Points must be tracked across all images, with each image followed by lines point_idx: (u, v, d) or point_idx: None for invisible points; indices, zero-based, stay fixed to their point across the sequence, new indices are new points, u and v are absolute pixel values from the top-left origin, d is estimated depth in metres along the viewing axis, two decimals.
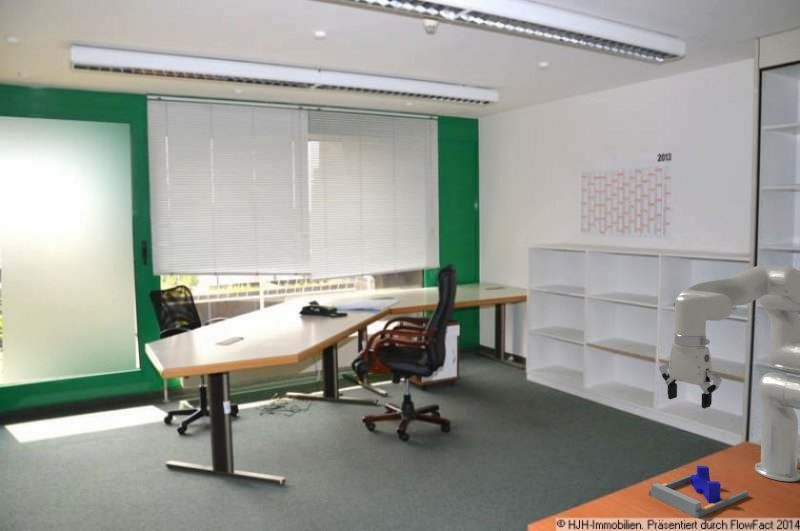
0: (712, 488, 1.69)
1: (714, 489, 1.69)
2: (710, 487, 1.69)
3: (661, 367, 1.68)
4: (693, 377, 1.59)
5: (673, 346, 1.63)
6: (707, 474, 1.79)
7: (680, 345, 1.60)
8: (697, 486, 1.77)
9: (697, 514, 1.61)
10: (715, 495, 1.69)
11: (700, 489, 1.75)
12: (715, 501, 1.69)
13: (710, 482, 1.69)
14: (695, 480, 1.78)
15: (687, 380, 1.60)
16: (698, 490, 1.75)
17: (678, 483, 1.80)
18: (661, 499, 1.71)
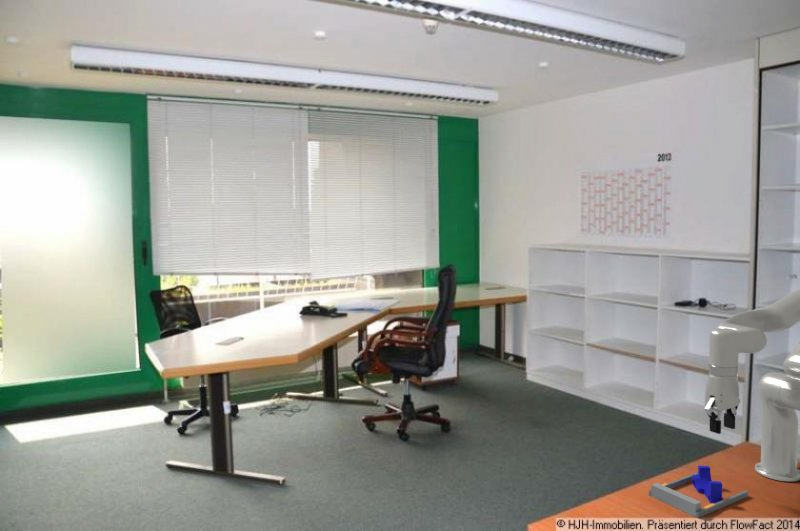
0: (714, 488, 1.69)
1: (715, 489, 1.69)
2: (712, 487, 1.69)
3: (709, 409, 1.73)
4: (735, 401, 1.76)
5: (723, 380, 1.73)
6: (708, 474, 1.79)
7: (734, 376, 1.73)
8: (698, 486, 1.76)
9: (697, 514, 1.61)
10: (717, 495, 1.69)
11: (702, 489, 1.75)
12: (717, 501, 1.69)
13: (712, 482, 1.69)
14: (696, 480, 1.78)
15: (731, 406, 1.75)
16: (700, 490, 1.75)
17: (678, 483, 1.80)
18: (661, 499, 1.71)
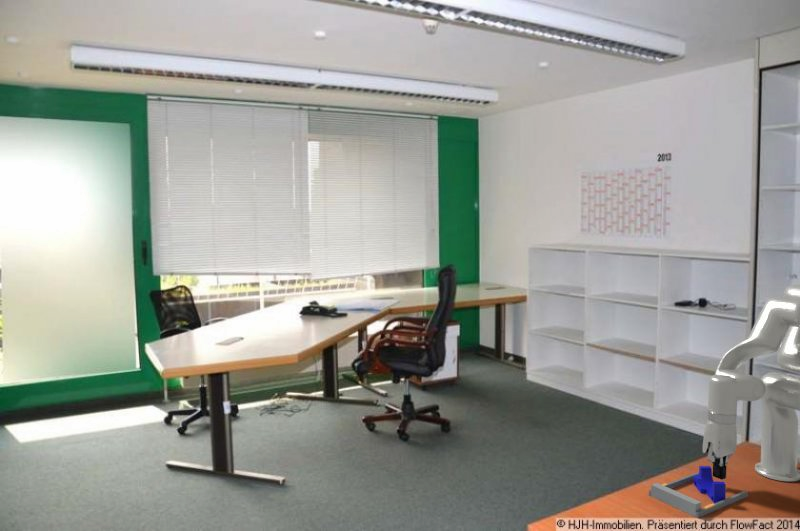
0: (717, 488, 1.69)
1: (719, 489, 1.69)
2: (715, 487, 1.69)
3: (712, 459, 1.75)
4: (732, 448, 1.77)
5: (721, 427, 1.74)
6: (710, 474, 1.78)
7: (733, 423, 1.74)
8: (701, 486, 1.76)
9: (697, 514, 1.61)
10: (720, 495, 1.69)
11: (704, 489, 1.75)
12: None
13: (715, 483, 1.69)
14: (698, 480, 1.78)
15: (728, 453, 1.76)
16: (702, 490, 1.75)
17: (678, 483, 1.80)
18: (661, 499, 1.71)
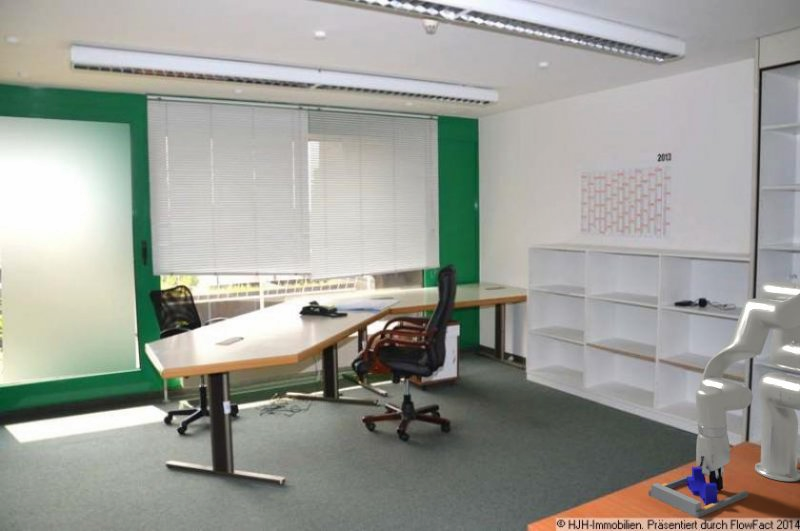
0: (709, 490, 1.68)
1: (710, 491, 1.68)
2: (707, 489, 1.68)
3: (706, 472, 1.73)
4: (726, 458, 1.75)
5: (712, 441, 1.71)
6: (702, 475, 1.77)
7: (724, 436, 1.71)
8: (693, 488, 1.75)
9: (697, 514, 1.61)
10: (712, 497, 1.68)
11: (697, 491, 1.74)
12: None
13: (706, 484, 1.68)
14: (691, 482, 1.77)
15: (723, 464, 1.74)
16: (694, 492, 1.74)
17: (678, 483, 1.80)
18: (661, 499, 1.71)
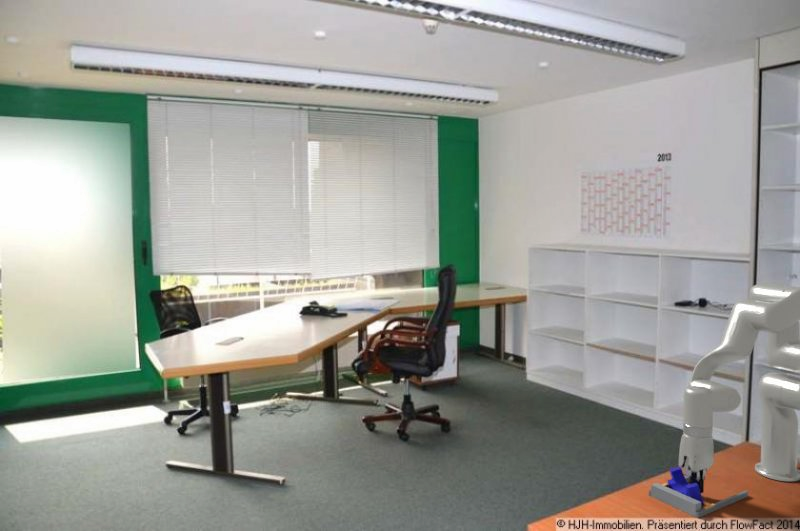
0: (692, 492, 1.66)
1: (694, 492, 1.66)
2: (690, 491, 1.66)
3: (688, 473, 1.70)
4: (709, 461, 1.72)
5: (696, 441, 1.68)
6: (682, 475, 1.76)
7: (709, 437, 1.68)
8: (677, 491, 1.73)
9: (697, 514, 1.61)
10: (697, 497, 1.66)
11: None
12: None
13: (688, 487, 1.66)
14: (673, 485, 1.75)
15: (705, 466, 1.71)
16: None
17: None
18: (661, 499, 1.71)
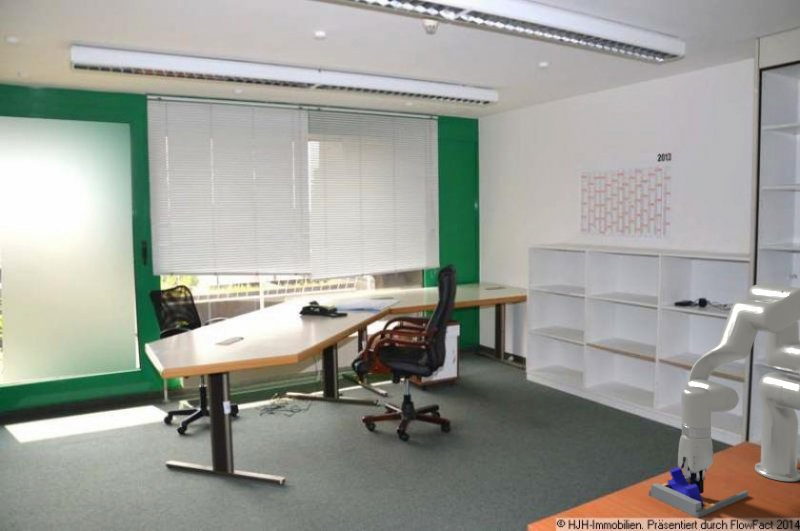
0: (691, 493, 1.65)
1: (693, 493, 1.65)
2: (689, 493, 1.66)
3: (687, 474, 1.69)
4: (709, 461, 1.71)
5: (695, 441, 1.68)
6: (682, 475, 1.75)
7: (707, 437, 1.68)
8: None
9: (697, 514, 1.61)
10: (696, 498, 1.66)
11: None
12: None
13: (688, 488, 1.66)
14: (673, 486, 1.75)
15: (705, 467, 1.71)
16: None
17: None
18: (661, 499, 1.71)
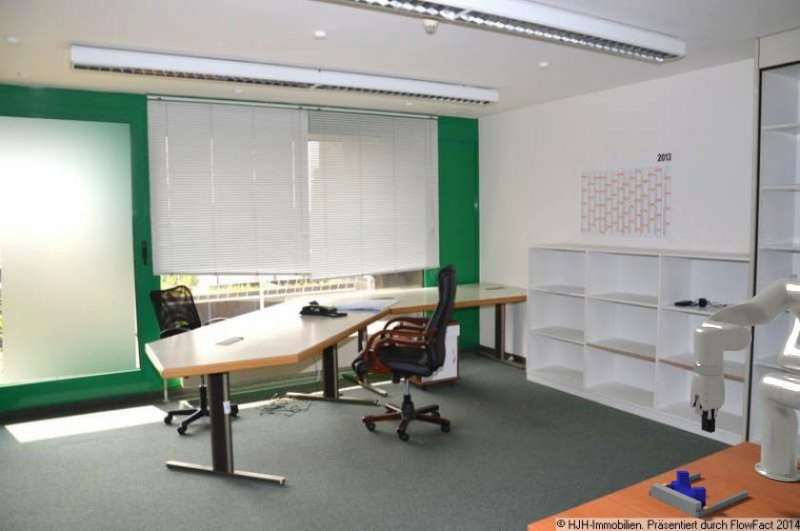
0: (698, 494, 1.66)
1: (700, 495, 1.66)
2: (696, 493, 1.66)
3: (699, 412, 1.71)
4: (721, 400, 1.73)
5: (708, 379, 1.69)
6: (687, 479, 1.76)
7: (720, 375, 1.69)
8: (679, 492, 1.73)
9: (697, 514, 1.61)
10: (701, 501, 1.66)
11: None
12: (701, 507, 1.66)
13: (696, 488, 1.66)
14: (677, 486, 1.75)
15: (716, 405, 1.72)
16: None
17: None
18: (661, 499, 1.71)
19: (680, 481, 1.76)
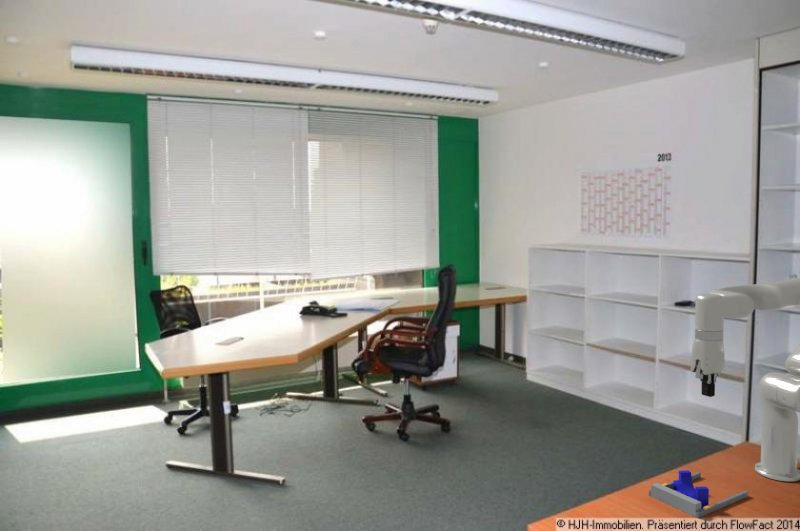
0: (701, 494, 1.66)
1: (702, 495, 1.66)
2: (699, 493, 1.66)
3: (700, 376, 1.76)
4: (720, 365, 1.78)
5: (708, 344, 1.75)
6: (690, 479, 1.76)
7: (720, 340, 1.75)
8: (682, 492, 1.73)
9: (697, 514, 1.61)
10: (704, 501, 1.66)
11: (686, 495, 1.72)
12: None
13: (698, 488, 1.66)
14: (679, 486, 1.75)
15: (716, 370, 1.78)
16: None
17: None
18: (661, 499, 1.71)
19: (682, 481, 1.76)
